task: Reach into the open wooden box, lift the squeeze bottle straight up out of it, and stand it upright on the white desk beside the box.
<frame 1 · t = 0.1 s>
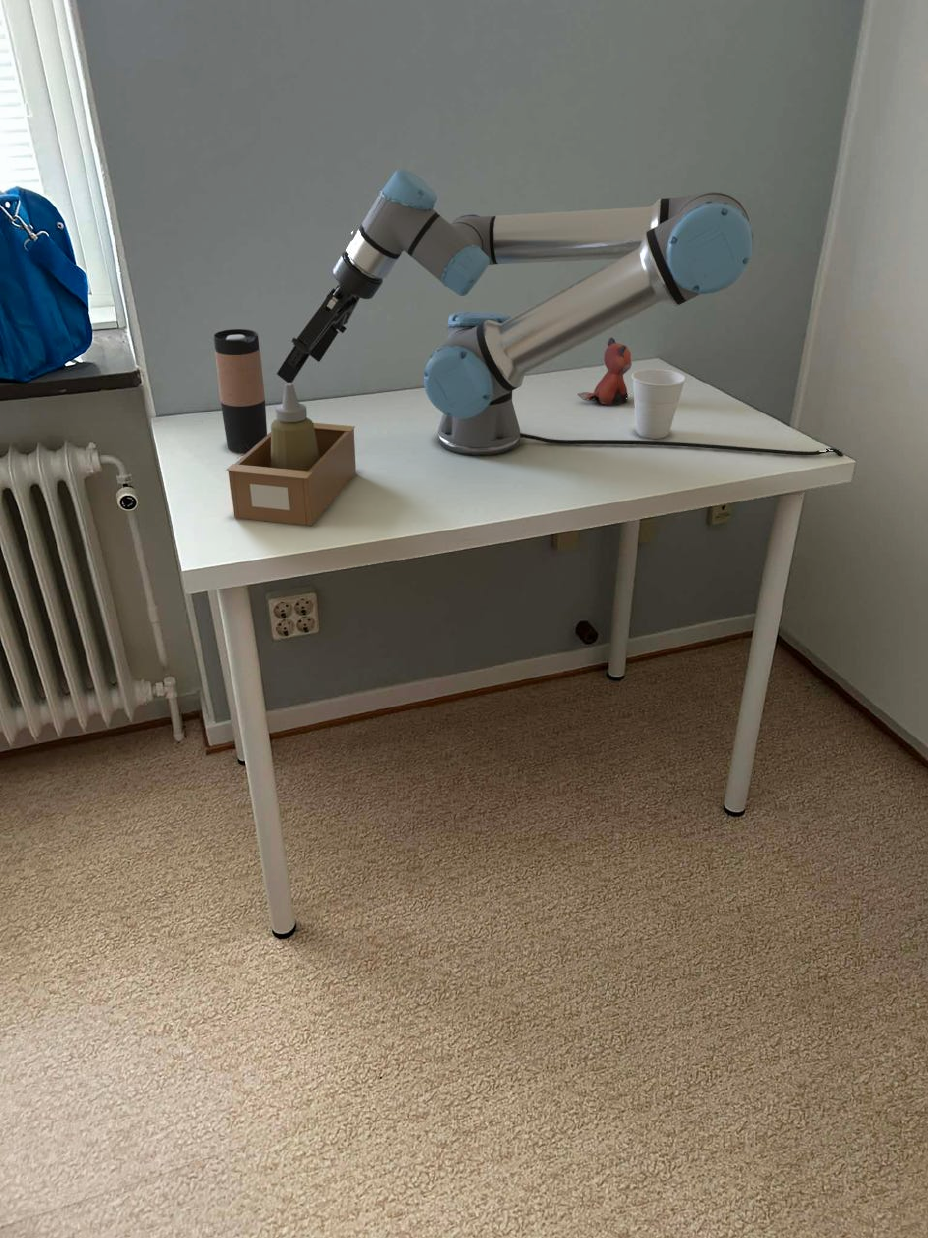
hand: (298, 367, 163), 15 cm above the table, tool tilted 35°, fingers open, 13 cm apart
stuffed fox: (602, 401, 198), on the table
travel mug: (247, 447, 174), on the table
wooden box: (298, 494, 155), on the table
cup: (651, 434, 182), on the table
squeeze bottle: (298, 494, 155), resting on wooden box
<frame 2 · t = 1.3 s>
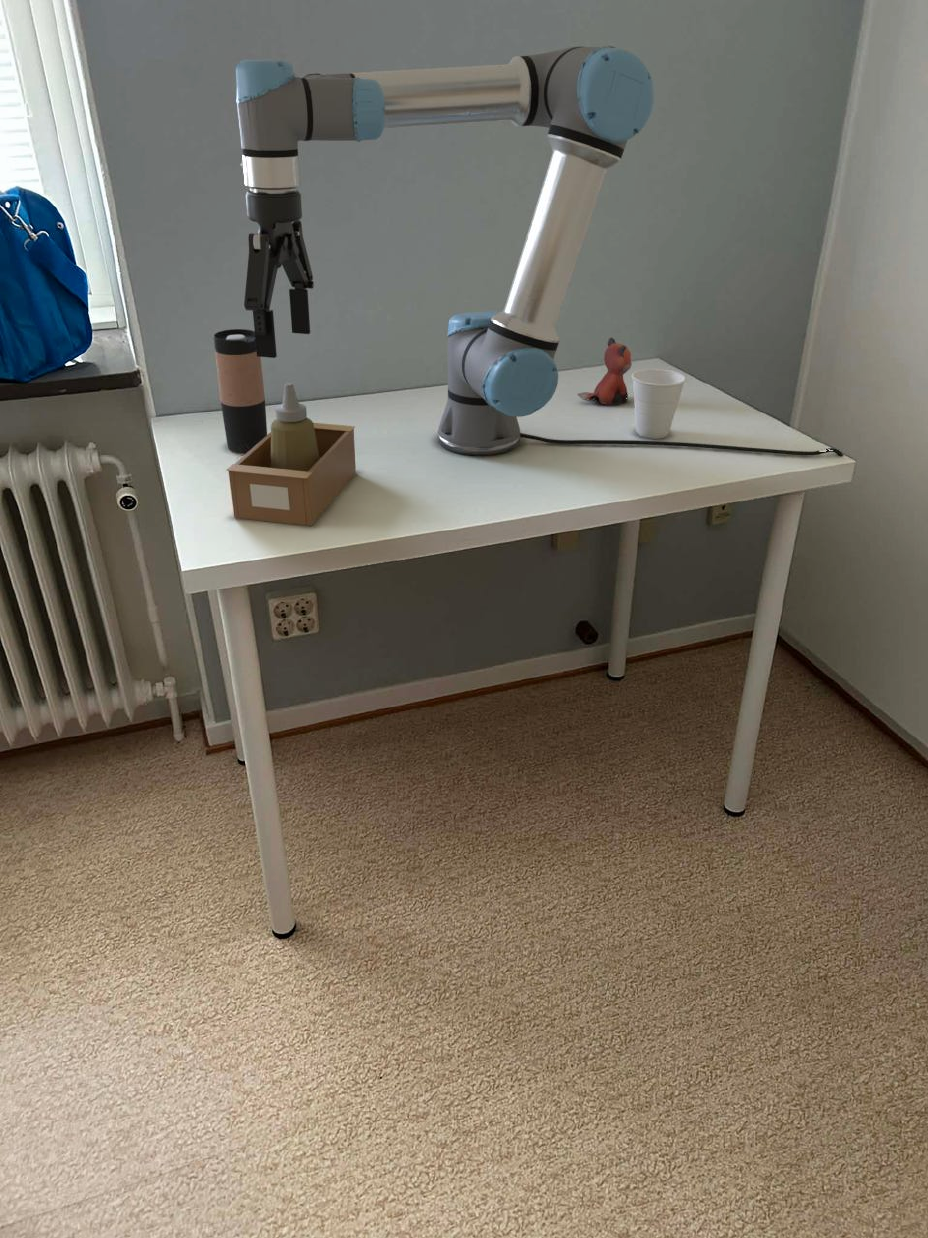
hand: (284, 344, 143), 24 cm above the table, tool pointing down, fingers open, 13 cm apart
nothing on the table moved.
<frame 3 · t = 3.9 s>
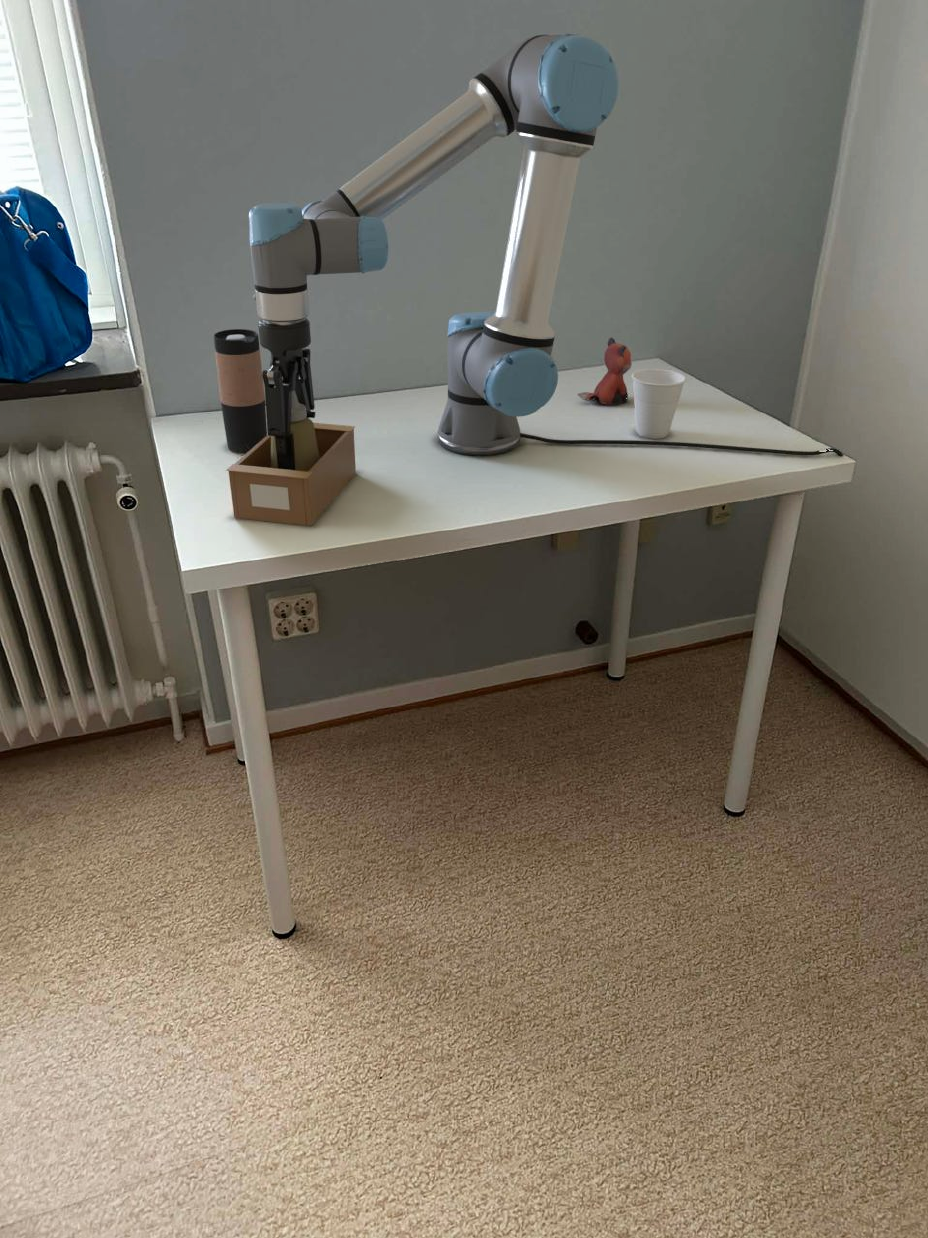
hand: (295, 465, 153), 5 cm above the table, tool pointing down, fingers closed on squeeze bottle, 6 cm apart
squeeze bottle: (298, 494, 155), resting on wooden box, touching gripper
everything else where it was.
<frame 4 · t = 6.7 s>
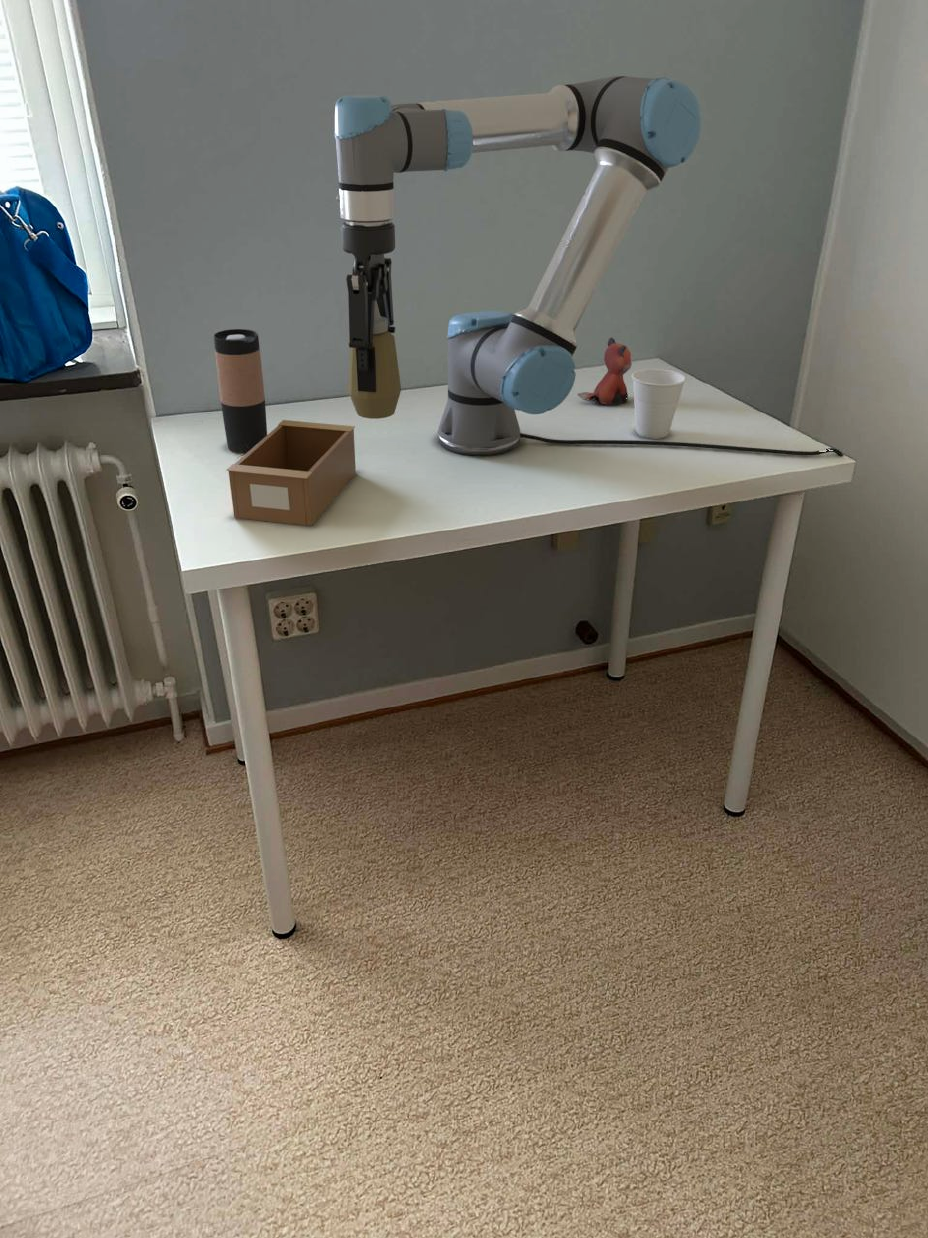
hand: (374, 383, 146), 19 cm above the table, tool pointing down, fingers closed on squeeze bottle, 6 cm apart
squeeze bottle: (375, 414, 148), point 14 cm above the table, touching gripper
everything else where it was.
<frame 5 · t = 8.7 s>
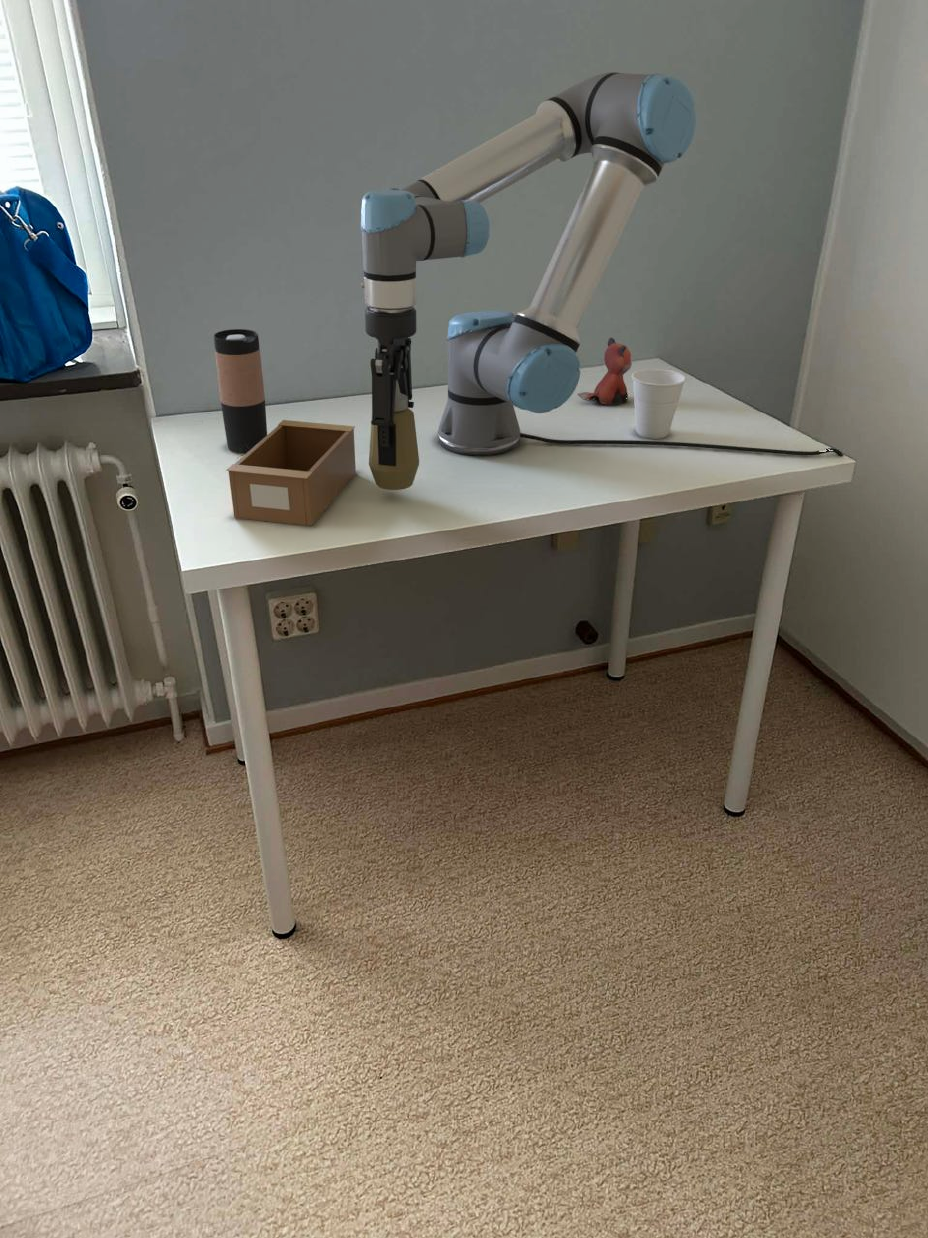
hand: (394, 455, 152), 7 cm above the table, tool pointing down, fingers closed on squeeze bottle, 6 cm apart
squeeze bottle: (394, 485, 154), point 2 cm above the table, touching gripper
everything else where it was.
when the fingers open (5 cm above the table, at t = 9.8 s): squeeze bottle stays where it is, on the table.
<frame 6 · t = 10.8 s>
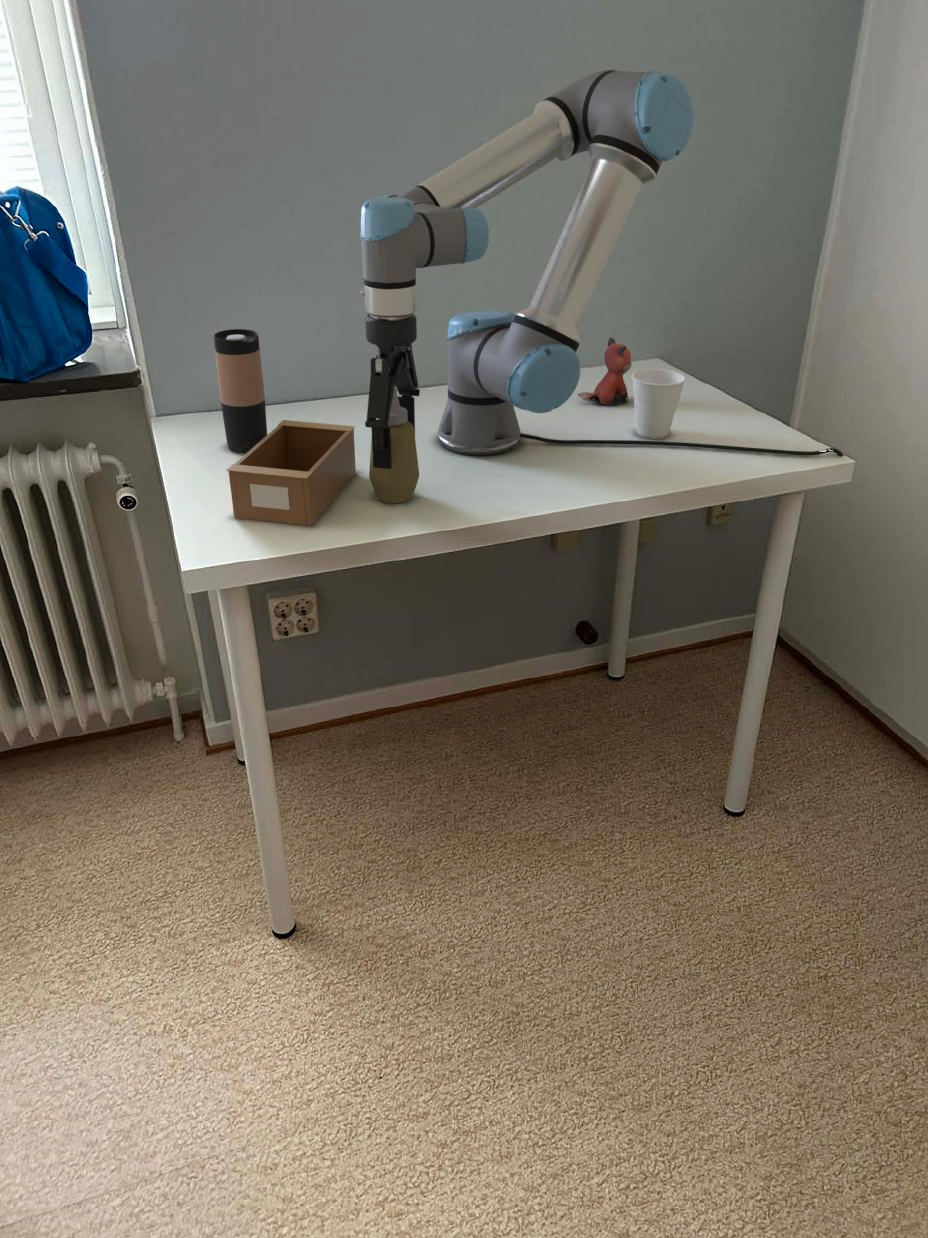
hand: (395, 451, 151), 8 cm above the table, tool pointing down, fingers open, 13 cm apart
squeeze bottle: (394, 497, 155), on the table
everything else where it was.
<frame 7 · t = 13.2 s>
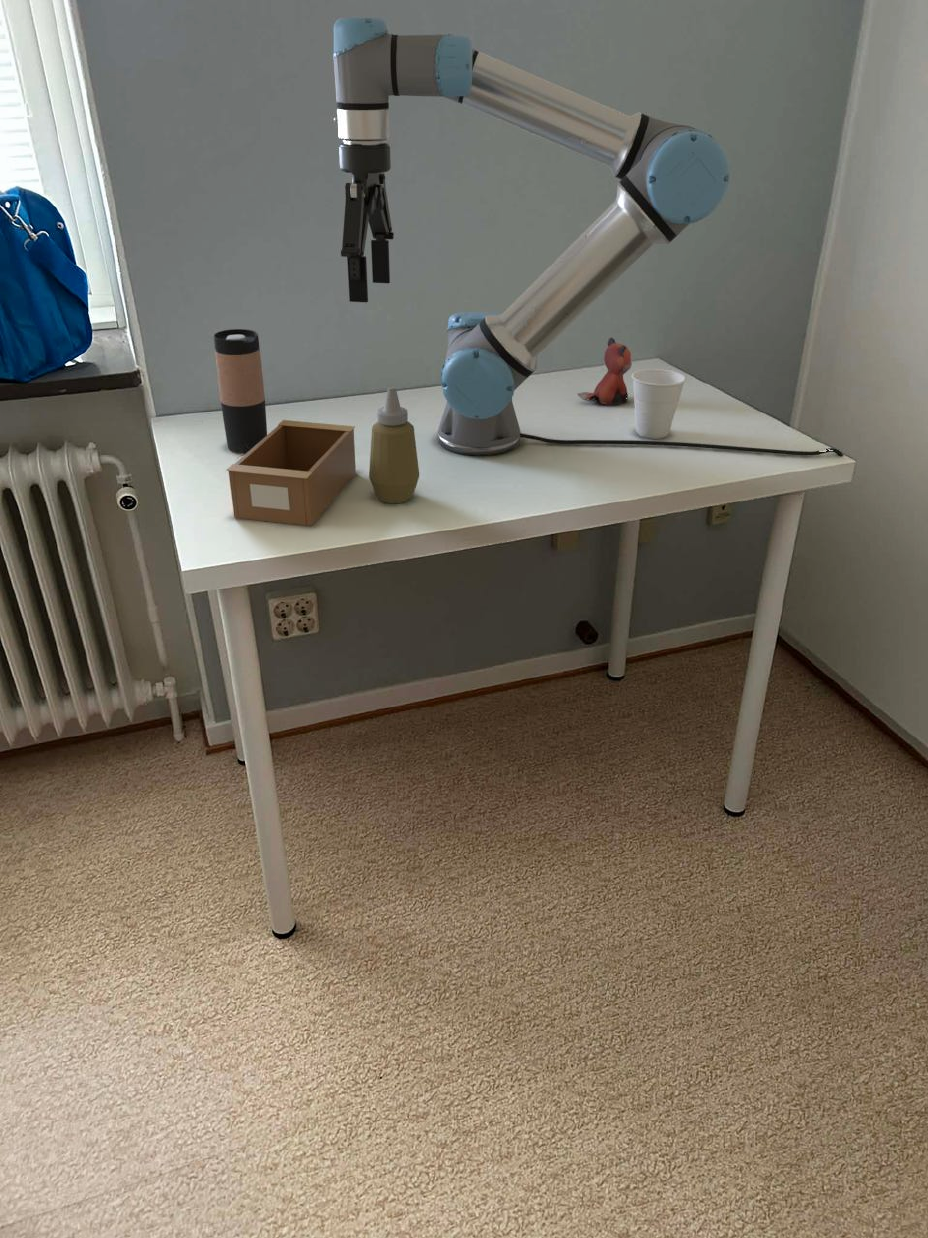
hand: (370, 291, 151), 29 cm above the table, tool pointing down, fingers open, 13 cm apart
nothing on the table moved.
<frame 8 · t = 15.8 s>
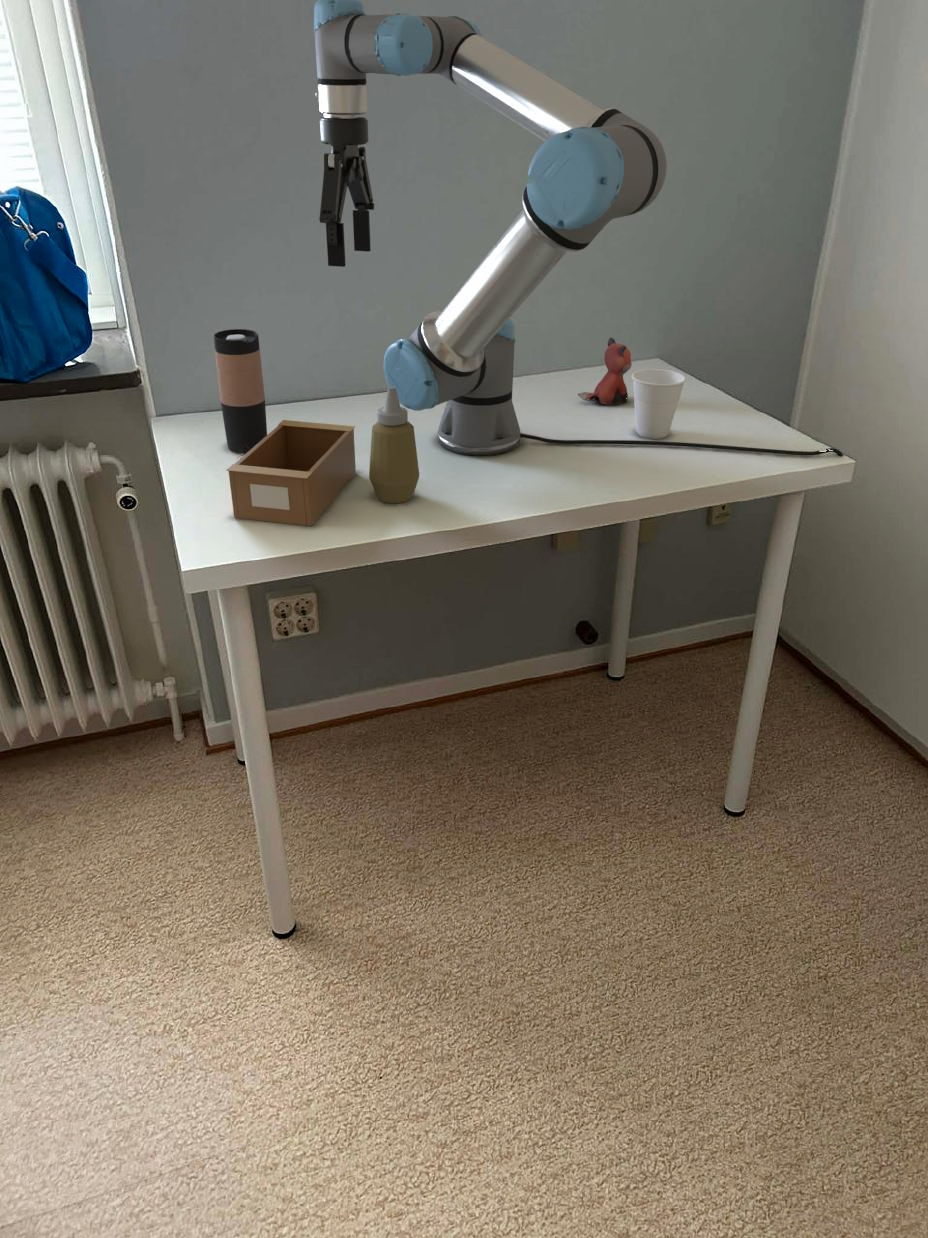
hand: (350, 258, 161), 32 cm above the table, tool pointing down, fingers open, 13 cm apart
nothing on the table moved.
at the end: squeeze bottle inside the target area (0.1 cm from its centre), on the table; squeeze bottle tilted 0°; the gripper is holding nothing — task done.
